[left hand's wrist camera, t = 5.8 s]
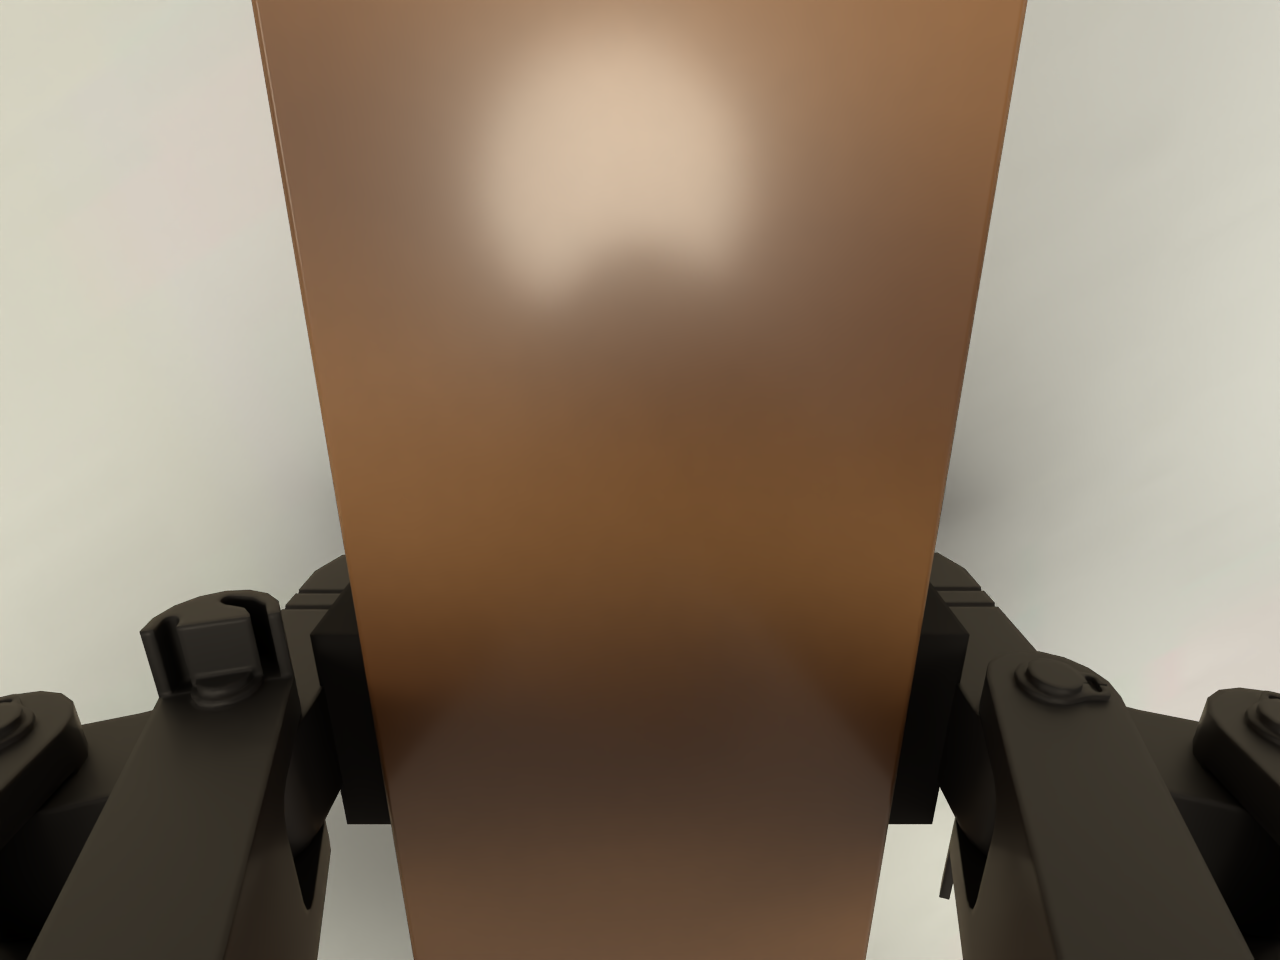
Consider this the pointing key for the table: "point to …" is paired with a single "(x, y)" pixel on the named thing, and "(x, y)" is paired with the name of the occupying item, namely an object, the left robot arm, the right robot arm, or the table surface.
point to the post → (639, 437)
